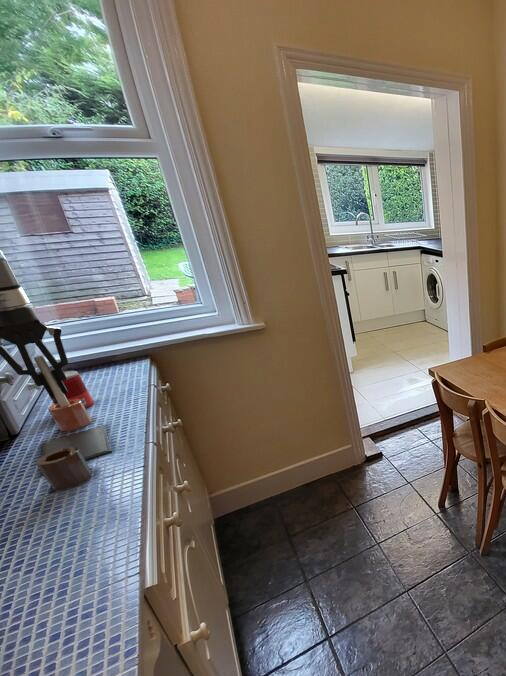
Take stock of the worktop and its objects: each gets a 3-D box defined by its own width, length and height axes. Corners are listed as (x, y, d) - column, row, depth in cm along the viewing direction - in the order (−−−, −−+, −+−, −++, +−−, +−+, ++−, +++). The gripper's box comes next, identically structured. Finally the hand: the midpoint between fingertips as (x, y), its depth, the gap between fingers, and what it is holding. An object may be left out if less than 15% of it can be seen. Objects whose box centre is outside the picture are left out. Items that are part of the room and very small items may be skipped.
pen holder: (54, 433, 111) (40, 411, 108) (74, 422, 117) (62, 400, 114) (80, 431, 112) (67, 408, 109) (98, 419, 118) (86, 398, 115)
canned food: (100, 400, 130) (83, 368, 125) (85, 411, 123) (66, 378, 118) (70, 405, 128) (52, 373, 123) (53, 417, 121) (33, 383, 116)
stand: (45, 493, 87) (27, 466, 84) (70, 475, 93) (54, 449, 90) (77, 489, 87) (60, 462, 85) (101, 471, 93) (86, 445, 90)
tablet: (113, 453, 100) (111, 450, 100) (43, 477, 92) (40, 473, 92) (105, 427, 113) (103, 424, 113) (43, 446, 105) (41, 443, 105)
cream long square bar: (60, 411, 110) (31, 358, 106) (67, 408, 112) (38, 356, 108) (67, 409, 110) (38, 356, 106) (73, 407, 112) (45, 355, 108)
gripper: (-41, 317, 93) (17, 408, 103) (52, 303, 103) (97, 387, 113) (-37, 312, 98) (19, 399, 108) (51, 299, 108) (95, 380, 118)
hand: (58, 393), depth 110 cm, fingers closed
